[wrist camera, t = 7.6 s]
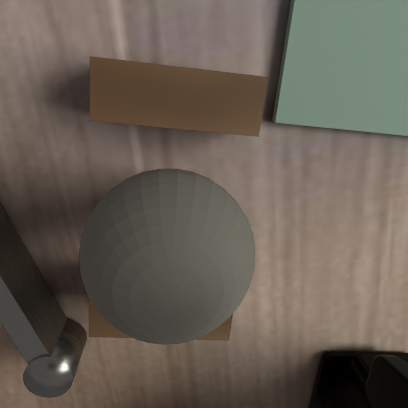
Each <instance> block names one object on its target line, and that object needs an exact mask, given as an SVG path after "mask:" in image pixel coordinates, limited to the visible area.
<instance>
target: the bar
mask: <svg viewBox="0 0 408 408" xmlns="http://www.w3.org/2000/svg"><path fill="white" fill-rule="evenodd" d="M0 322H1V324H2V325H3V327H4V328H5V330H6V331H7V333H8V334H9V336H10V337H11V339H12V340H13V342H14V344H15V345H16V347H17V348H18V350H19V351H20V353H21V354H22V356H23V357H24V359H25V360H26V362H27V363H28V366H27V368H26V369H25V371H24V374H23V381H24V384H25V386H26V387H27V389H28V390H29V391H30V392H32V393H33V394H35V395H38V396H41V397H48V398H50V397H57V396H60V395H62V394H64V393H65V392H67V391H68V390H69V388H70V387H71V385H72V382H73V379H74V376H75V373H76V370H77V367H78V364H79V361H80V358H81V355H82V352H83V349H84V346H85V344H86V340H87V334H86V331H85V329H84V328H83V327H82V326H81V325H80V324H79V323H77V322H75V321H72V320H67V318H66V316H65V314H64V313H63V311H62V309H61V307H60V306H59V304H58V302H57V301H56V299H55V297H54V295H53V294H52V292H51V290H50V288H49V287H48V285H47V283H46V282H45V280H44V278H43V276H42V275H41V273H40V271H39V269H38V268H37V266H36V264H35V263H34V261H33V259H32V257H31V256H30V254H29V252H28V250H27V249H26V247H25V245H24V244H23V242H22V240H21V238H20V237H19V235H18V233H17V231H16V230H15V228H14V226H13V225H12V223H11V221H10V219H9V218H8V216H7V214H6V212H5V211H4V209H3V207H2V206H1V204H0Z"/></svg>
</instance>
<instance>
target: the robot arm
mask: <svg viewBox="0 0 408 408" xmlns="http://www.w3.org/2000/svg"><path fill="white" fill-rule="evenodd" d="M330 359H331V360H330ZM328 360H329V361H328ZM309 408H408V353H381V352H333V351H330V352H326V353H324V354H323V355H322V357H321V361H320V365H319V369H318V373H317V377H316V381H315V385H314V389H313V393H312V397H311V402H310V406H309Z"/></svg>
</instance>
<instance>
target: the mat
mask: <svg viewBox="0 0 408 408" xmlns="http://www.w3.org/2000/svg"><path fill="white" fill-rule="evenodd" d="M272 122H275V123H284V124H294V125H304V126H314V127H324V128H334V129H344V130H354V131H364V132H374V133H384V134H394V135H404V136H408V0H291V3H290V9H289V16H288V22H287V29H286V35H285V42H284V48H283V54H282V61H281V67H280V74H279V80H278V86H277V93H276V99H275V106H274V112H273V118H272Z"/></svg>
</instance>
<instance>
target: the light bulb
mask: <svg viewBox="0 0 408 408" xmlns="http://www.w3.org/2000/svg"><path fill="white" fill-rule="evenodd" d="M79 263H80V273H81V277H82V280H83V283H84V286H85V289H86V292H87V294H88V296H89V298H90V299H91V301H92V303H93V304H94V306H95V308H96V309H97V311H98V312H99V313H100V314H101V315H102V316H103V317H104V318H105V319H106V321H107V322H109V323H110V324H111V325H113V326H114V327H115V328H117V329H118V330H119V331H121V332H122V333H124V334H126V335H128V336H130V337H132V338H134V339H137V340H141V341H144V342H148V343H155V344H178V343H183V342H188V341H192V340H194V339H197V338H200V337H202V336H205V335H206V334H208V333H210V332H211V331H213V330H215V329H216V328H217V327H219V326H220V325H221V324H222V323H223V322H224V321H226V320H227V319H228V318H229V317H230V316H231V315H232V314H233V312H234V311H235V310H236V309H237V307H238V306H239V305H240V303H241V302H242V300H243V298H244V296H245V294H246V292H247V290H248V288H249V286H250V282H251V279H252V275H253V271H254V265H255V244H254V237H253V232H252V229H251V227H250V224H249V221H248V219H247V217H246V215H245V214H244V212H243V211H242V209H241V207H240V206H239V204H238V203H237V201H236V200H235V199H234V198H233V197H232V196H231V195H230V194H229V193H228V192H227V191H226V190H225V189H224V188H222V187H221V186H220V185H218V184H216V183H215V182H213V181H212V180H210V179H209V178H207V177H204V176H202V175H199V174H197V173H194V172H190V171H185V170H180V169H157V170H152V171H147V172H142V173H140V174H138V175H135V176H133V177H130V178H128V179H126V180H125V181H123V182H122V183H120V184H119V185H117V186H116V187H114V188H113V189H111V190H110V191H109V192H108V193H107V194H106V195H105V196H104V197H103V198H102V199H101V200H100V201H99V202H98V204H97V205H96V207H95V209H94V210H93V212H92V213H91V215H90V216H89V218H88V220H87V222H86V224H85V227H84V230H83V233H82V235H81V242H80V250H79Z"/></svg>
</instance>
